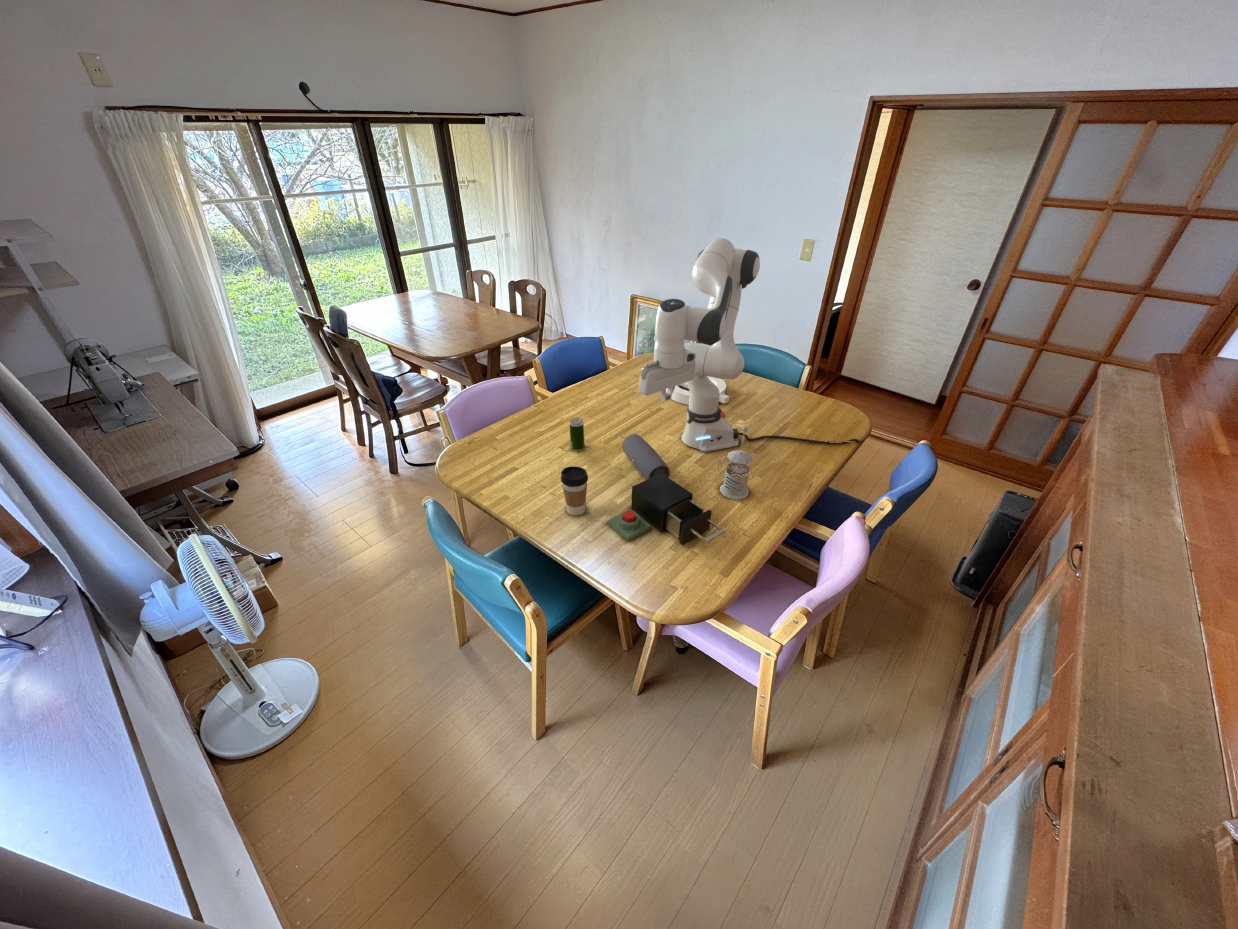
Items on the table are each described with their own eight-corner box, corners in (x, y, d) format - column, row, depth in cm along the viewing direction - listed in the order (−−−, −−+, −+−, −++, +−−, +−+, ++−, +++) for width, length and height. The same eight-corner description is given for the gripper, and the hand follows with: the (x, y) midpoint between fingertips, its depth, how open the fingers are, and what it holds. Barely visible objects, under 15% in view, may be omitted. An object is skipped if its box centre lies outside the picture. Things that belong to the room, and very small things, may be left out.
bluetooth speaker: (620, 458, 183) (620, 435, 177) (642, 452, 186) (643, 430, 180) (646, 491, 165) (647, 467, 160) (670, 485, 168) (672, 461, 163)
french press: (742, 502, 161) (755, 438, 147) (710, 491, 166) (719, 428, 152) (752, 487, 167) (765, 425, 153) (721, 477, 173) (730, 415, 159)
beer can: (575, 452, 185) (573, 425, 179) (568, 446, 189) (566, 419, 182) (587, 448, 188) (586, 421, 181) (580, 442, 192) (579, 416, 185)
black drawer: (727, 542, 143) (730, 524, 139) (700, 559, 137) (703, 540, 133) (678, 507, 157) (680, 489, 153) (652, 521, 151) (653, 503, 147)
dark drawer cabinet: (690, 516, 154) (693, 494, 149) (661, 532, 148) (662, 509, 143) (660, 494, 164) (661, 472, 159) (631, 508, 158) (631, 486, 152)
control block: (650, 529, 149) (650, 520, 147) (627, 541, 145) (628, 532, 143) (630, 512, 156) (630, 504, 154) (607, 523, 151) (607, 515, 149)
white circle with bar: (729, 406, 219) (730, 396, 216) (667, 405, 219) (668, 395, 216) (719, 380, 242) (720, 371, 240) (663, 380, 242) (664, 371, 240)
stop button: (637, 519, 148) (637, 515, 147) (628, 524, 147) (628, 519, 146) (630, 513, 151) (630, 509, 150) (621, 518, 149) (621, 513, 148)
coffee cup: (563, 502, 160) (560, 464, 152) (588, 501, 161) (587, 463, 152) (562, 518, 153) (560, 480, 145) (589, 517, 154) (588, 479, 145)
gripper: (649, 369, 135) (647, 413, 143) (700, 353, 145) (696, 394, 153) (634, 362, 139) (633, 405, 147) (685, 347, 150) (682, 387, 157)
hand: (665, 399), depth 150 cm, fingers closed
